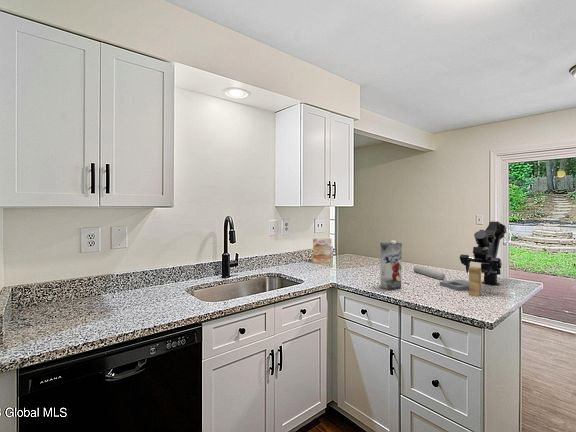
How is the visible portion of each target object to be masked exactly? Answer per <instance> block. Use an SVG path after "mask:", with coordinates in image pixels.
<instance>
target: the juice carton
mask: <svg viewBox="0 0 576 432" xmlns="http://www.w3.org/2000/svg"><path fill="white" fill-rule="evenodd" d="M379 245H380V246H379V247H380V248H379V249H380V253H379V254H380V255H379V256H380V262H379V263H380V264H379V265H380V266H379V267H380V271H379V273H380V275H379V276H380V278H379V280H380V282H379V283H380V288H382V289H385V290H388V291H391V290H399V289H401V288H402V255H403V254H402V249H403V248H402V247H403V246H402V245H403V244H402V243H401V242H397V241H396V240H390V241H389V242H388V241H387V242H383V241H382V242H380V244H379Z"/></svg>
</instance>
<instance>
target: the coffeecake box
mask: <svg viewBox="0 0 576 432" xmlns="http://www.w3.org/2000/svg"><path fill="white" fill-rule="evenodd" d="M312 263H314V264H315V263H316V264H317V263H318V264H332V238H322V237H321V238H318V237H317V238H313V239H312Z"/></svg>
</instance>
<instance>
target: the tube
mask: <svg viewBox="0 0 576 432" xmlns="http://www.w3.org/2000/svg"><path fill="white" fill-rule="evenodd" d="M413 272H414V273H417V274H419V275H420V274H421V275H424V276H427V277H431V278H432V279H433V278H434V279H437V280H440V281H445V279H446V274H445V273H444V272H441V271H438V270H436V269H432V268H428V267H424V266H421V265H419V264H415V265H414V267H413Z"/></svg>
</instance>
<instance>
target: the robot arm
mask: <svg viewBox="0 0 576 432" xmlns="http://www.w3.org/2000/svg"><path fill="white" fill-rule="evenodd" d="M506 233H507V227H506V225H505V224H502V223H501V222H500V221H495V220H493V221H489V222H488V226H487V227H486V228H485V230H484V229H479V231H476V232H474V234H473V236H474V240H475V242H476V245H477V246H473V249H472V253H473V257H470V255H469V254H460V255H459V261H460V263H461V264H462V265H464V266H465V271H466V273H467V274H469V268H470V267H471V262H473V263H479V264H480V268H481V274H482V273H483V274H484V275H483V281H481V284H486V285H488V286H489V285H490V286H495V285H500V283H499V282H498V275H501V269H502V259H501V258H500V257H497V255H498V252H499V247H500V241H501V240H502V239H503V238H504V237H505V234H506Z"/></svg>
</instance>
